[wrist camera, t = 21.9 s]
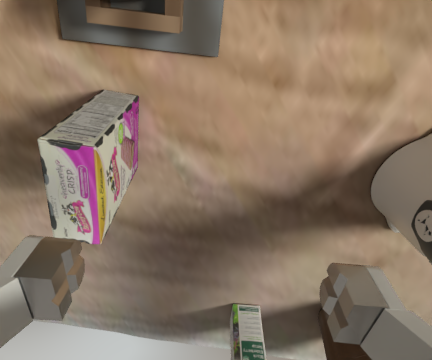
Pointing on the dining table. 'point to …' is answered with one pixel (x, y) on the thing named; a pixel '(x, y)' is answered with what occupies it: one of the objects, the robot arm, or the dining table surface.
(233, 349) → the syrup box
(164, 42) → the hitch block
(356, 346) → the plant pot
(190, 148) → the dining table surface
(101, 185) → the candy bar box
